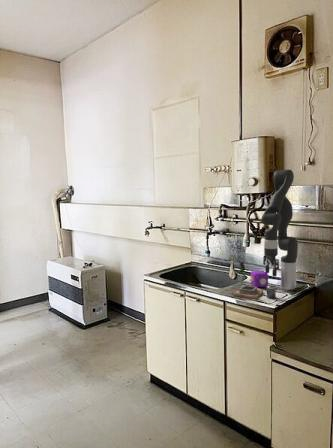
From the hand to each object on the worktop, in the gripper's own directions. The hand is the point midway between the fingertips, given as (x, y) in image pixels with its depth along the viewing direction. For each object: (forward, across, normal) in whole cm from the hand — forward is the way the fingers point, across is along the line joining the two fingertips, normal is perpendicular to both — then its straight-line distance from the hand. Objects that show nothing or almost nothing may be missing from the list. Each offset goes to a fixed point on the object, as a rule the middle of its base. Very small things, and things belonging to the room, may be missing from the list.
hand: (270, 274), depth 202 cm
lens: (+14, 0, 0) cm, 14 cm away
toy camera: (+14, +23, -5) cm, 28 cm away
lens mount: (+14, +10, +10) cm, 20 cm away
